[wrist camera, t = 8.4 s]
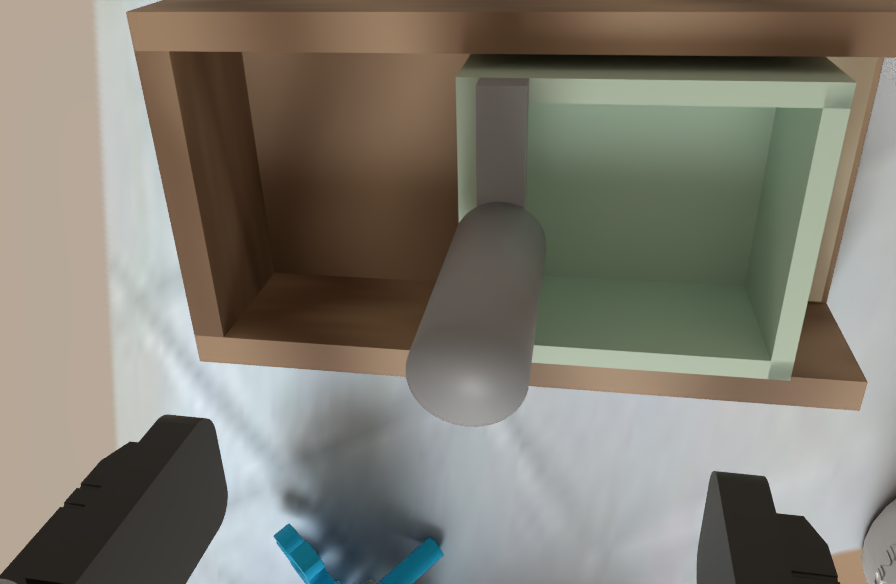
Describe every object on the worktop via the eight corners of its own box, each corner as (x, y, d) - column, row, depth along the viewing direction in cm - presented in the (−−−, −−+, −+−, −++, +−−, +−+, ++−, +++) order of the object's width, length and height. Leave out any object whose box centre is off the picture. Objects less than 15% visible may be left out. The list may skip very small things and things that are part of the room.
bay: (891, -20, 22) (971, 12, 17) (814, 316, 27) (859, 410, 23) (213, -16, 25) (126, 12, 21) (260, 284, 30) (200, 361, 26)
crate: (805, 39, 22) (985, 191, 12) (758, 294, 26) (862, 574, 16) (481, 37, 23) (393, 172, 13) (483, 279, 27) (414, 527, 17)
